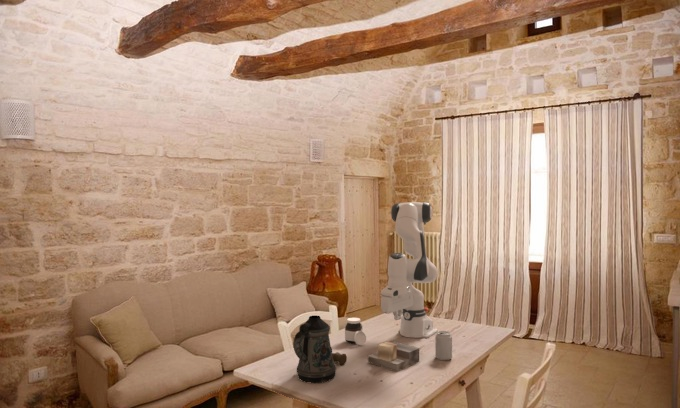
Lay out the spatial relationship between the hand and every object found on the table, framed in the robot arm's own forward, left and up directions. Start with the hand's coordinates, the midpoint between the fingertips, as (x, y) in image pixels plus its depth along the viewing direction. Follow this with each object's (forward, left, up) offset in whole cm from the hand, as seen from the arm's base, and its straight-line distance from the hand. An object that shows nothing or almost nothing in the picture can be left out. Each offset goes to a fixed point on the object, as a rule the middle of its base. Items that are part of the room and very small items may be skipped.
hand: (397, 319), depth 217 cm
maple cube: (+5, 0, -13) cm, 14 cm away
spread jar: (-6, -31, -19) cm, 37 cm away
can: (-16, +14, -19) cm, 29 cm away
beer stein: (+40, -13, -19) cm, 46 cm away
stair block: (+3, 0, -19) cm, 19 cm away
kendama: (+21, -24, -19) cm, 37 cm away
